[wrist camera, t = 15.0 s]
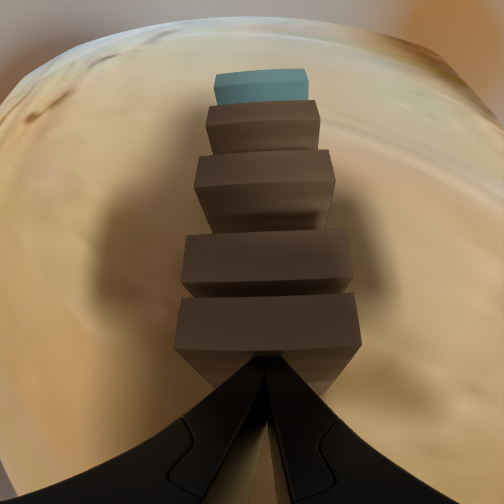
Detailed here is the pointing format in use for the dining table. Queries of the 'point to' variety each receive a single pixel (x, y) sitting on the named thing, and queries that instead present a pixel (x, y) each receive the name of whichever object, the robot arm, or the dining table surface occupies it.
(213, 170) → the domino
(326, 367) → the domino
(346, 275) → the domino
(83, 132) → the dining table surface
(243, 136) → the domino
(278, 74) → the end domino
